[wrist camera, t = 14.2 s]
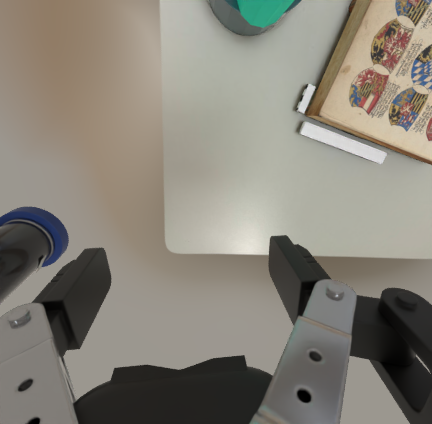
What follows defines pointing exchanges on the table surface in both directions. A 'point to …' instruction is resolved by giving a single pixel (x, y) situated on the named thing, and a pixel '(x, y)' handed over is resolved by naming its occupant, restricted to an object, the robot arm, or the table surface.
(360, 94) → the book
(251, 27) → the pot
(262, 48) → the table surface
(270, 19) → the candle
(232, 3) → the pot lid
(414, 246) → the table surface
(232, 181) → the table surface
